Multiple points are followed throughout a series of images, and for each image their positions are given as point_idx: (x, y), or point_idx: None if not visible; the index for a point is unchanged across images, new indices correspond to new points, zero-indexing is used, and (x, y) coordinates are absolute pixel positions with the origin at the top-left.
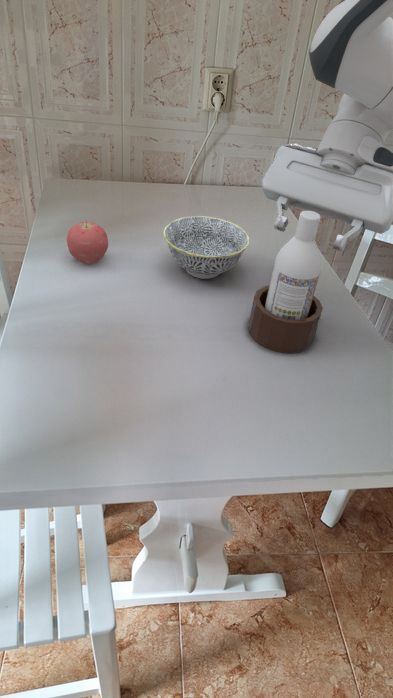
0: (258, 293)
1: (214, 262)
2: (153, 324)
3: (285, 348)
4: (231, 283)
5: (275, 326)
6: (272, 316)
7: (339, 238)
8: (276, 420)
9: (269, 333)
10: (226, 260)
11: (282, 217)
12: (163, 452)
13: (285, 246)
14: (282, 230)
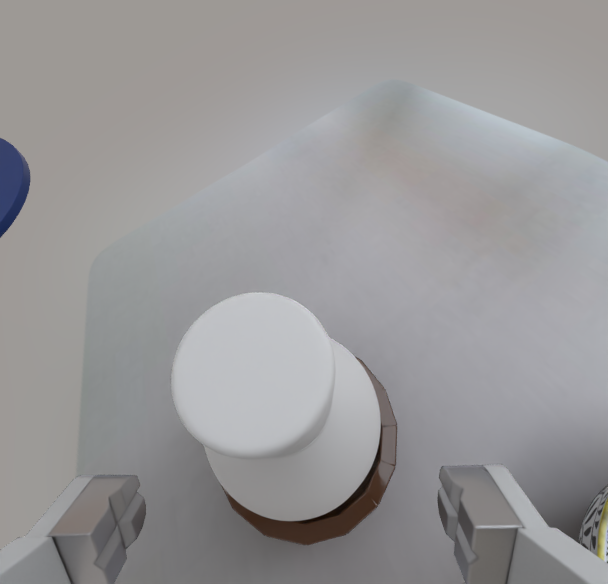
0: (386, 413)
1: (604, 496)
2: (502, 291)
3: None
4: None
5: None
6: None
7: (86, 509)
8: (230, 240)
9: None
10: (593, 537)
11: (503, 516)
12: (315, 148)
13: (349, 365)
14: (443, 488)
